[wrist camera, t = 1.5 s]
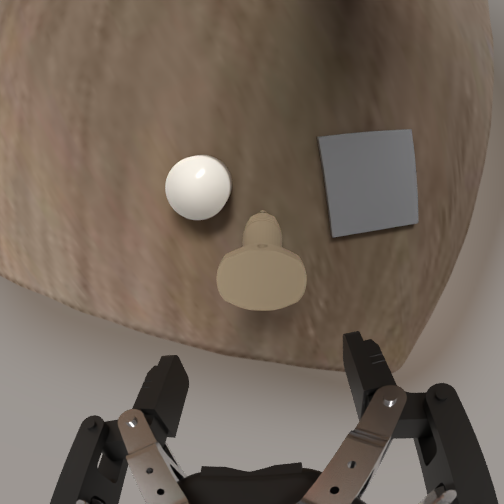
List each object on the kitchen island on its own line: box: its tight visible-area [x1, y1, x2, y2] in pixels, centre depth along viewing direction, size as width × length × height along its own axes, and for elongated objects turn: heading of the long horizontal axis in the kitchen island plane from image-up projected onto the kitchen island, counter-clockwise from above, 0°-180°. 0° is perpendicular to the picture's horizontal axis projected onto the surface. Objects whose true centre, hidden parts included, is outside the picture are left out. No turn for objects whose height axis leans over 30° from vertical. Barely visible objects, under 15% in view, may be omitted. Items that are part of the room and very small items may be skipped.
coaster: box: [317, 129, 418, 238], centre depth 31 cm, size 12×12×1 cm
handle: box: [217, 210, 307, 311], centre depth 27 cm, size 5×6×15 cm
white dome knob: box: [165, 155, 232, 220], centre depth 31 cm, size 7×7×4 cm
